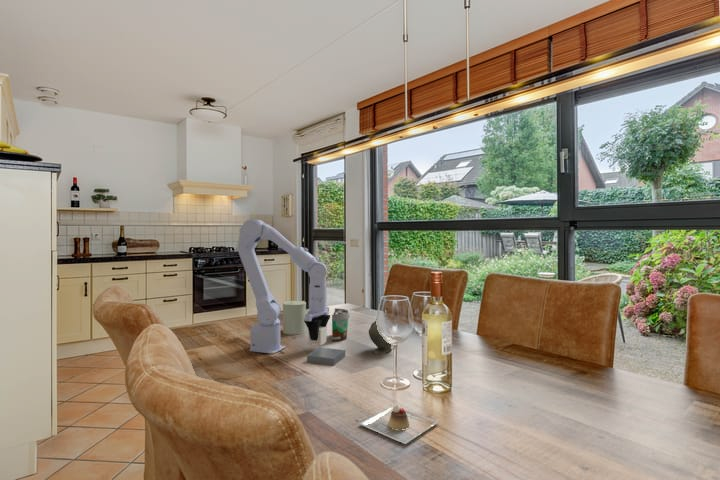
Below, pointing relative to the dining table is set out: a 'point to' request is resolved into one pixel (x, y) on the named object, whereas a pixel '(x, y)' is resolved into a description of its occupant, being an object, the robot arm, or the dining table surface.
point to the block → (319, 337)
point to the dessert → (397, 421)
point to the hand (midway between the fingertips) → (317, 338)
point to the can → (294, 317)
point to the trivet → (326, 356)
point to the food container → (339, 324)
